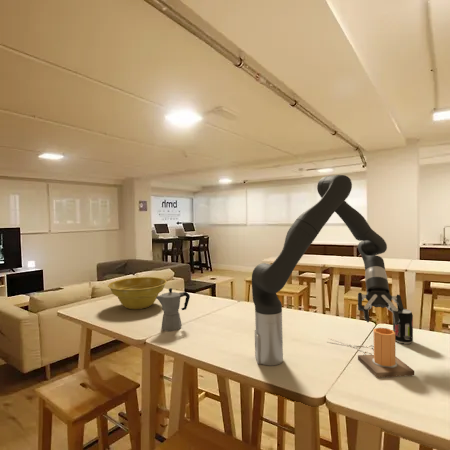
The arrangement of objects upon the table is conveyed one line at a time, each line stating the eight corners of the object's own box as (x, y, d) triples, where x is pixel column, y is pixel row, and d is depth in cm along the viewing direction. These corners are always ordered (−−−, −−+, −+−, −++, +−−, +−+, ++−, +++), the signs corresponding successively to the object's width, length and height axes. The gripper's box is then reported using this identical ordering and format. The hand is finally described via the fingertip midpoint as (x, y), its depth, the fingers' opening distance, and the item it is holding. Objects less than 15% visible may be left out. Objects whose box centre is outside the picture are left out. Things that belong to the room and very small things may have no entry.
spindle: (376, 377, 97) (376, 350, 96) (357, 359, 109) (357, 335, 108) (414, 375, 97) (414, 348, 97) (392, 357, 109) (391, 333, 109)
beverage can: (413, 346, 118) (413, 314, 118) (392, 343, 122) (392, 312, 121) (412, 339, 124) (412, 309, 124) (393, 336, 127) (393, 307, 127)
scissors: (377, 357, 109) (320, 343, 122) (377, 359, 109) (320, 345, 122) (384, 347, 118) (330, 334, 130) (384, 349, 118) (330, 336, 130)
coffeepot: (158, 333, 137) (157, 292, 137) (155, 326, 146) (154, 287, 146) (193, 328, 143) (191, 288, 142) (188, 321, 152) (187, 284, 151)
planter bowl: (178, 305, 180) (178, 281, 179) (125, 319, 158) (124, 292, 157) (149, 295, 203) (148, 274, 203) (99, 306, 181) (98, 283, 180)
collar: (375, 364, 101) (375, 333, 101) (372, 356, 107) (372, 327, 106) (396, 367, 99) (396, 335, 99) (392, 358, 105) (392, 328, 105)
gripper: (356, 275, 117) (359, 315, 107) (399, 276, 113) (407, 318, 103) (355, 286, 123) (358, 325, 112) (396, 287, 118) (403, 329, 108)
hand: (381, 322), depth 107 cm, fingers open, 8 cm apart
